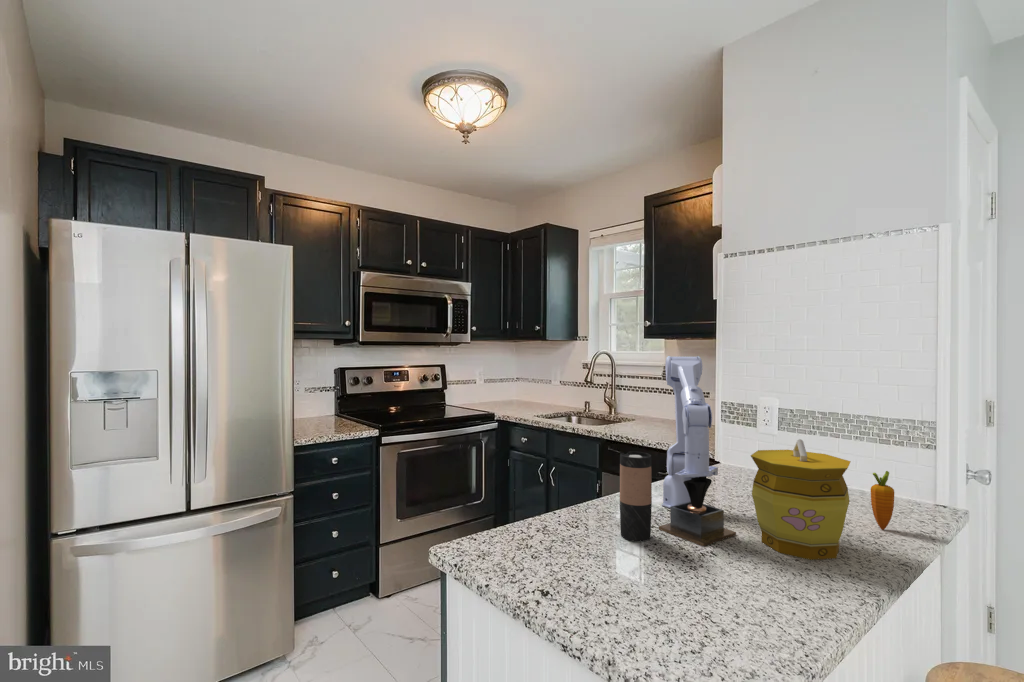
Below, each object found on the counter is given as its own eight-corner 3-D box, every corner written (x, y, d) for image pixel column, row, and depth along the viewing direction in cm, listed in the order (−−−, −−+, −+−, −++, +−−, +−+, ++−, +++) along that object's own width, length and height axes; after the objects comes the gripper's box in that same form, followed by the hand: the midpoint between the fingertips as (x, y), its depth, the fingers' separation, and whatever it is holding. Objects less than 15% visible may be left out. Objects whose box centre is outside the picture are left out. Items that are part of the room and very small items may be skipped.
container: (834, 534, 124) (834, 434, 125) (870, 571, 104) (870, 450, 104) (742, 526, 130) (742, 430, 130) (759, 559, 110) (759, 445, 110)
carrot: (872, 531, 127) (872, 471, 127) (869, 525, 131) (868, 467, 131) (896, 534, 124) (896, 474, 125) (892, 528, 129) (892, 470, 129)
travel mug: (652, 543, 118) (652, 458, 118) (619, 540, 120) (619, 457, 120) (650, 531, 125) (650, 452, 126) (619, 529, 127) (619, 450, 127)
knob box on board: (658, 529, 127) (658, 505, 127) (691, 519, 134) (691, 497, 134) (703, 546, 116) (703, 520, 116) (736, 535, 123) (736, 510, 124)
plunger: (677, 525, 126) (677, 505, 126) (693, 520, 130) (694, 501, 130) (699, 533, 121) (699, 512, 121) (716, 528, 124) (716, 508, 124)
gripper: (692, 459, 118) (692, 516, 118) (728, 452, 126) (728, 506, 126) (667, 453, 124) (667, 508, 124) (704, 447, 132) (704, 499, 132)
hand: (696, 507), depth 125 cm, fingers closed, pressing on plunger
